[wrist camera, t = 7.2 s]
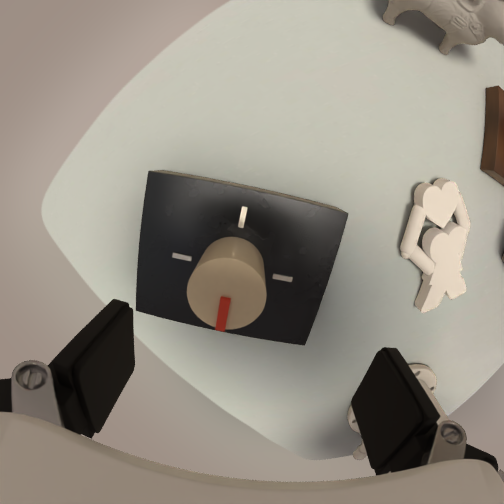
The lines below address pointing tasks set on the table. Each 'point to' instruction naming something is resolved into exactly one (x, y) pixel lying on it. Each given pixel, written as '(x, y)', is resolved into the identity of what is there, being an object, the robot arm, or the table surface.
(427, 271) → the white abstract figurine
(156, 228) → the panel
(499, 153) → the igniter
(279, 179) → the table surface
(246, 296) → the knob
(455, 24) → the dog figurine
